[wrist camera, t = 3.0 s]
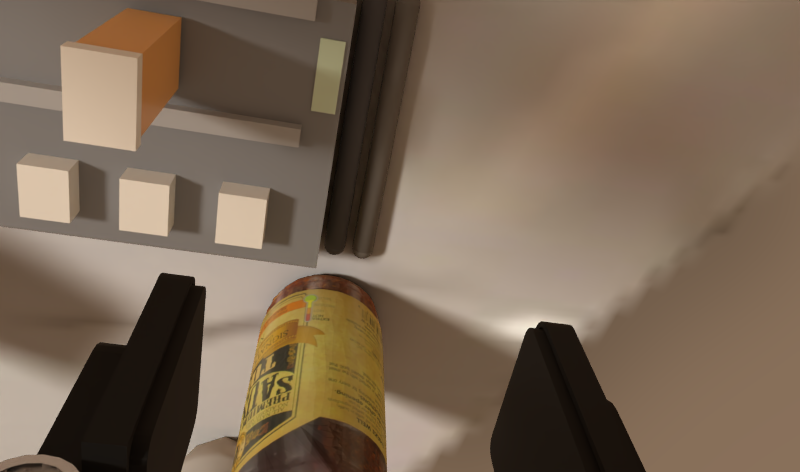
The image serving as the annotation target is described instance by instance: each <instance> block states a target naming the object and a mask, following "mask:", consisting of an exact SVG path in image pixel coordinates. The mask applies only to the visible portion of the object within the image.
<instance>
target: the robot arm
mask: <svg viewBox="0 0 800 472" xmlns="http://www.w3.org/2000/svg"><path fill="white" fill-rule="evenodd" d="M205 298H206V288H205V287H203V286H195V278H194V277H191V276H183V275H175V274H167V273H161V274H160V276H159V277H158V280H157V282H156V284H155V286H154V288H153V290H152V292H151V294H150V297H149V299H148V301H147V303H146V305H145V307H144V309H143V311H142V314H141V316H140V318H139V320H138V322H137V324H136V326H135V328H134V331H133V333H132V335H131V337H130V339H129V341H128V343H127V345H118V344H109V343H101V342H100V343H99V344H97V345H96V346H95V348H94V349H93V351H92V353H91V355H90V357H89V358H88V360H87V362H86V364H85V366H84V368H83V370H82V372H81V373H80V375H79V377H78V379H77V381H76V383H75V385H74V387H73V388H72V390H71V392H70V394H69V396H68V398H67V400H66V402H65V403H64V405H63V407H62V409H61V411H60V413H59V415H58V416H57V418H56V420H55V422H54V424H53V426H52V428H51V430H50V431H49V433H48V435H47V437H46V439H45V441H44V443H43V445H42V446H41V448H40V450H39V452H38V454H37V455H24V456H20V457H16V458H11V459H7V460H5V461H2V462H0V472H181V470H182V467H183V463H184V460H185V456H186V453H187V449H188V446H189V442H190V439H191V435H192V432H193V428H194V424H195V419H196V414H197V406H198V394H199V380H200V366H201V352H202V339H203V325H204V311H205ZM490 453H491V459H492V464H493V468H494V472H646V471H645V469H644V467H643V465H642V462H641V461H640V458H639V456H638V454H637V452H636V450H635V448H634V446H633V444H632V441H631V439H630V437H629V435H628V433H627V431H626V429H625V427H624V424H623V423H622V420H621V418H620V416H619V414H618V412H617V410H616V408H615V407H614V405H613V404H612V403H611V402H610V401H608V400H607V399H606V397H605V395H604V393H603V391H602V389H601V386H600V384H599V382H598V380H597V378H596V376H595V373H594V371H593V369H592V367H591V365H590V363H589V360H588V358H587V356H586V354H585V352H584V350H583V347H582V345H581V343H580V341H579V339H578V337H577V334H576V332H575V330H574V328H573V327H572V326H571V325H566V324H558V323H550V322H540V323H539V324H538V325H537V327H536V328H529V329H528V330H527V331H526V334H525V336H524V339H523V342H522V345H521V348H520V352H519V355H518V358H517V361H516V364H515V367H514V370H513V373H512V376H511V379H510V382H509V385H508V388H507V391H506V394H505V397H504V400H503V403H502V406H501V409H500V413H499V416H498V419H497V422H496V425H495V428H494V431H493V434H492V438H491V445H490Z"/></svg>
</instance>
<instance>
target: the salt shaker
mask: <svg viewBox="0 0 800 472" xmlns="http://www.w3.org/2000/svg"><path fill="white" fill-rule="evenodd" d="M236 447H237V441H235V440H232V439H230V438H227V437H223V438H219V439H216V440H213V441H210V442H207V443H204V444H200V445H197V446H196V447H195V448H194V449H193V450H192V451H191V452H190V453H189V454H188V455H187V456H186V457H185V460H184V463H183V467H182V470H181V472H231V470H232V466H233V461H234V457H235V452H236Z"/></svg>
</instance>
